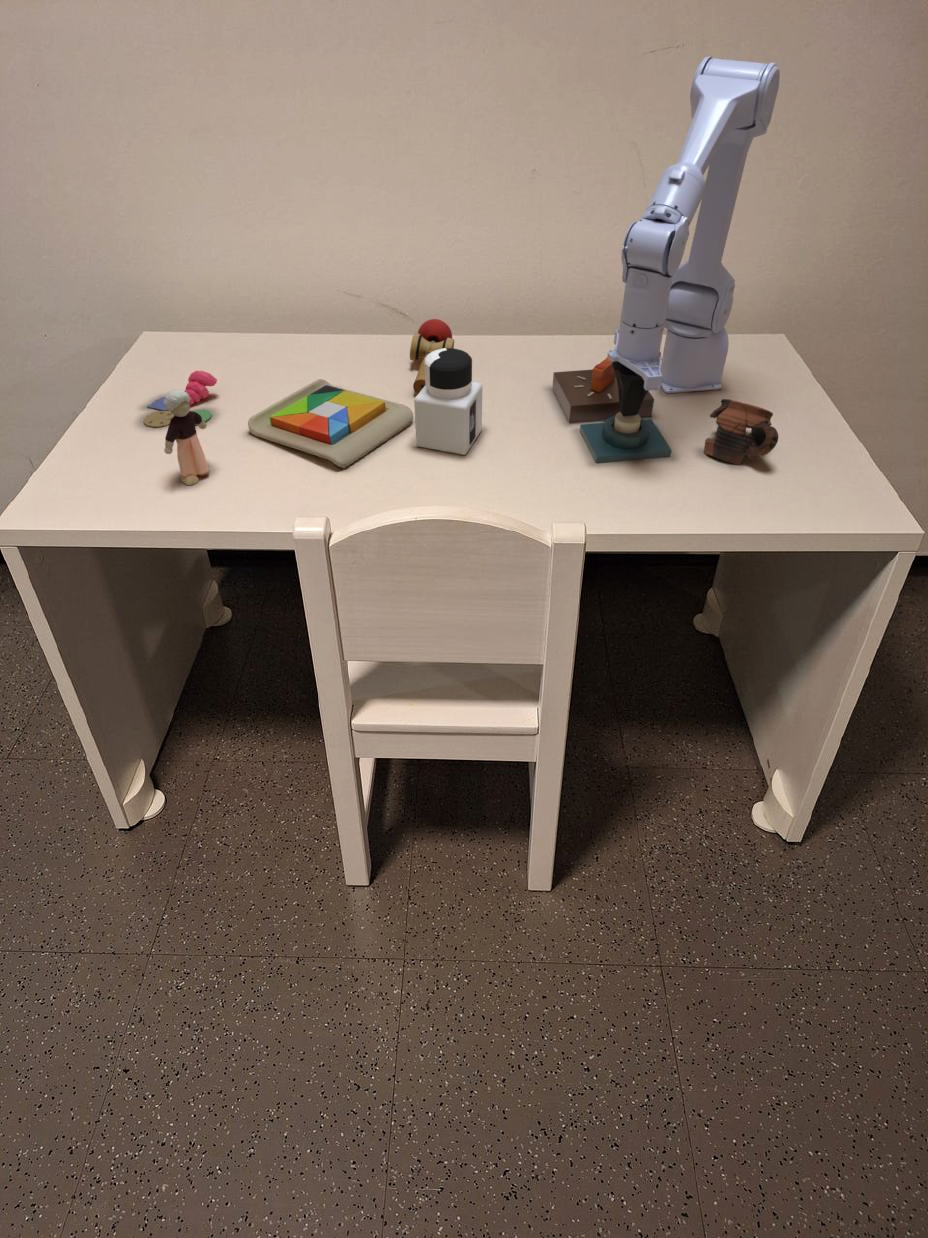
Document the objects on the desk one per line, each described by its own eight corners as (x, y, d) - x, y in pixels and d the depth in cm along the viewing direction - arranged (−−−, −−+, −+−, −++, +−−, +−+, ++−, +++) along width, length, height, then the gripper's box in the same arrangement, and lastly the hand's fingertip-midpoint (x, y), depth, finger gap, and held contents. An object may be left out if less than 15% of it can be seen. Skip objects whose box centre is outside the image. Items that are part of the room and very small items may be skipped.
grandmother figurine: (196, 491, 110) (172, 405, 101) (170, 486, 111) (145, 402, 102) (223, 461, 115) (203, 378, 107) (199, 457, 116) (177, 374, 108)
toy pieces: (166, 388, 131) (159, 362, 128) (230, 394, 130) (225, 368, 127) (129, 424, 123) (121, 398, 120) (198, 432, 121) (191, 405, 118)
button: (634, 420, 118) (636, 409, 117) (642, 433, 116) (644, 422, 115) (610, 422, 118) (612, 411, 117) (617, 435, 115) (619, 424, 114)
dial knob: (605, 377, 127) (608, 354, 125) (614, 380, 127) (617, 357, 124) (590, 389, 125) (593, 366, 122) (599, 392, 124) (602, 369, 121)
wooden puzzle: (325, 387, 132) (322, 366, 129) (417, 421, 124) (416, 400, 121) (245, 432, 121) (241, 411, 119) (340, 473, 113) (337, 451, 111)
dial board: (629, 383, 132) (632, 365, 130) (651, 416, 125) (654, 398, 122) (552, 389, 131) (553, 370, 129) (568, 423, 123) (570, 404, 121)
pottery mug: (683, 448, 119) (703, 392, 116) (725, 460, 124) (745, 407, 122) (746, 467, 109) (769, 407, 107) (788, 480, 115) (811, 422, 112)
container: (482, 430, 122) (483, 346, 113) (465, 456, 116) (465, 371, 108) (434, 421, 124) (431, 339, 115) (415, 446, 118) (411, 362, 109)
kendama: (452, 403, 130) (462, 340, 141) (443, 369, 125) (455, 307, 137) (405, 408, 132) (419, 345, 143) (395, 375, 127) (411, 313, 138)
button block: (650, 425, 123) (653, 407, 121) (670, 457, 116) (674, 438, 114) (579, 431, 121) (581, 413, 119) (595, 463, 115) (598, 445, 113)
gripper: (598, 299, 111) (587, 391, 120) (629, 345, 100) (615, 442, 110) (647, 296, 112) (633, 387, 121) (684, 341, 101) (666, 437, 110)
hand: (628, 413), depth 115 cm, fingers closed
